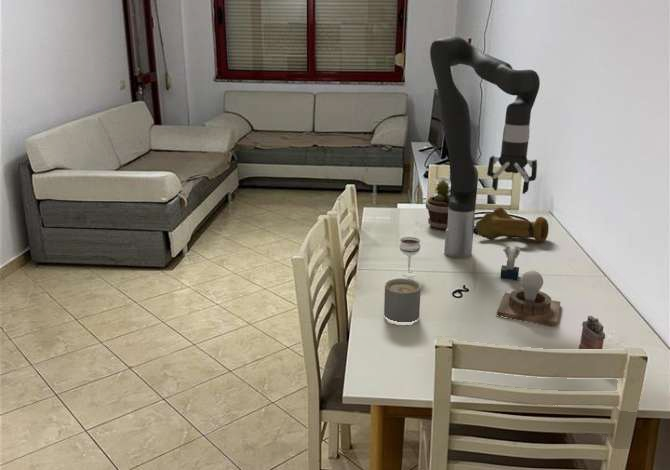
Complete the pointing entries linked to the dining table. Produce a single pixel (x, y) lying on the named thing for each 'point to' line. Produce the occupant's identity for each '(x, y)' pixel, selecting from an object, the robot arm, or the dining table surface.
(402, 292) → the coffee mug
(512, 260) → the watch
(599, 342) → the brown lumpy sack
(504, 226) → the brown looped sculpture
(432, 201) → the flowerpot
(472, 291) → the dining table surface
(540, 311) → the lamp socket
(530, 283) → the lightbulb
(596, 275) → the dining table surface
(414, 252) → the wineglass
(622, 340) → the dining table surface
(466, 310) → the dining table surface
